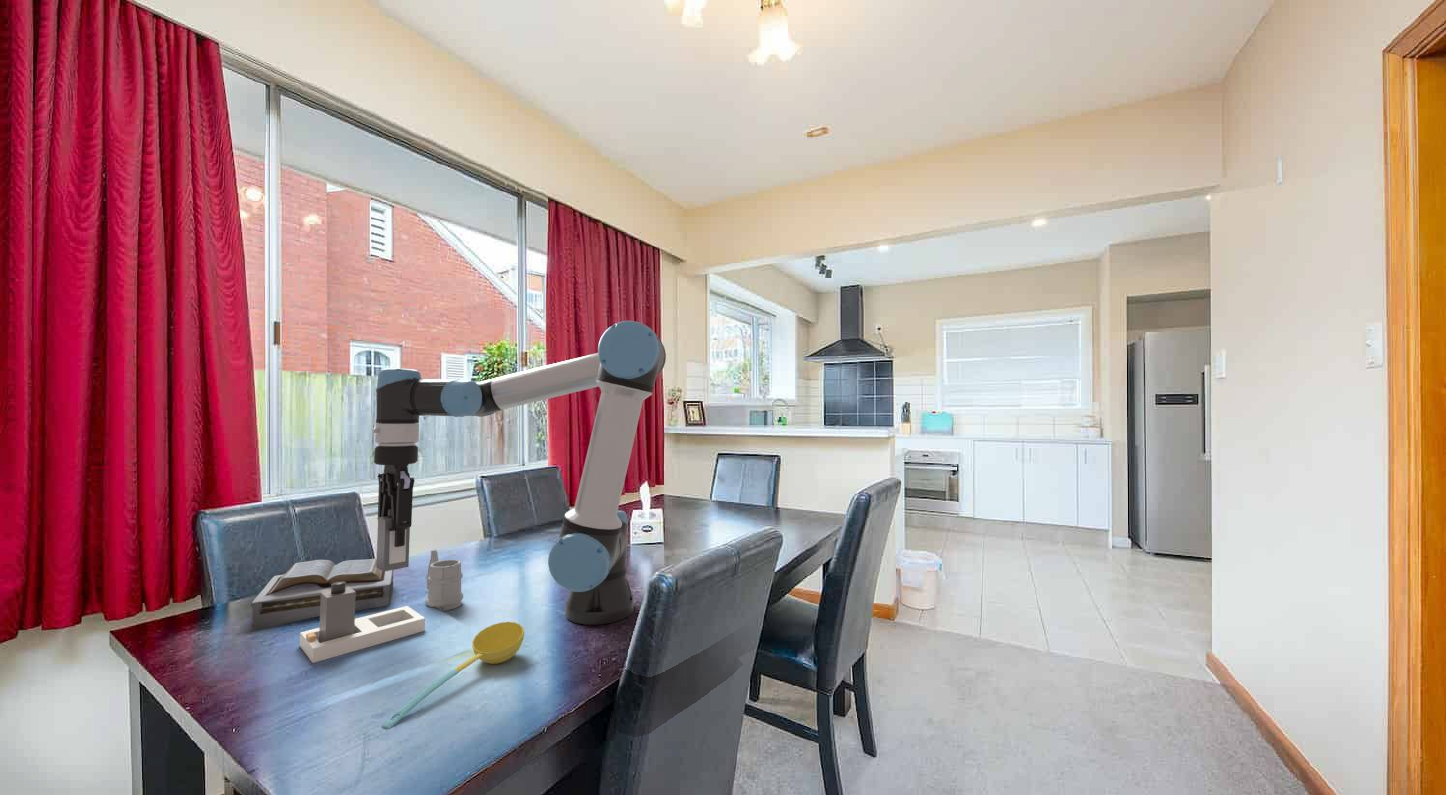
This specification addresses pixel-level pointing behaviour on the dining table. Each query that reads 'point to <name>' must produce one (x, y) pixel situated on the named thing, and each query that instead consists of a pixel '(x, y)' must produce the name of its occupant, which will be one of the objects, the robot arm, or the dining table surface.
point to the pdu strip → (364, 633)
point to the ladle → (476, 658)
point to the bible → (319, 590)
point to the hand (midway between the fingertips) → (392, 559)
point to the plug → (383, 545)
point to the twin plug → (337, 612)
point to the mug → (444, 583)
